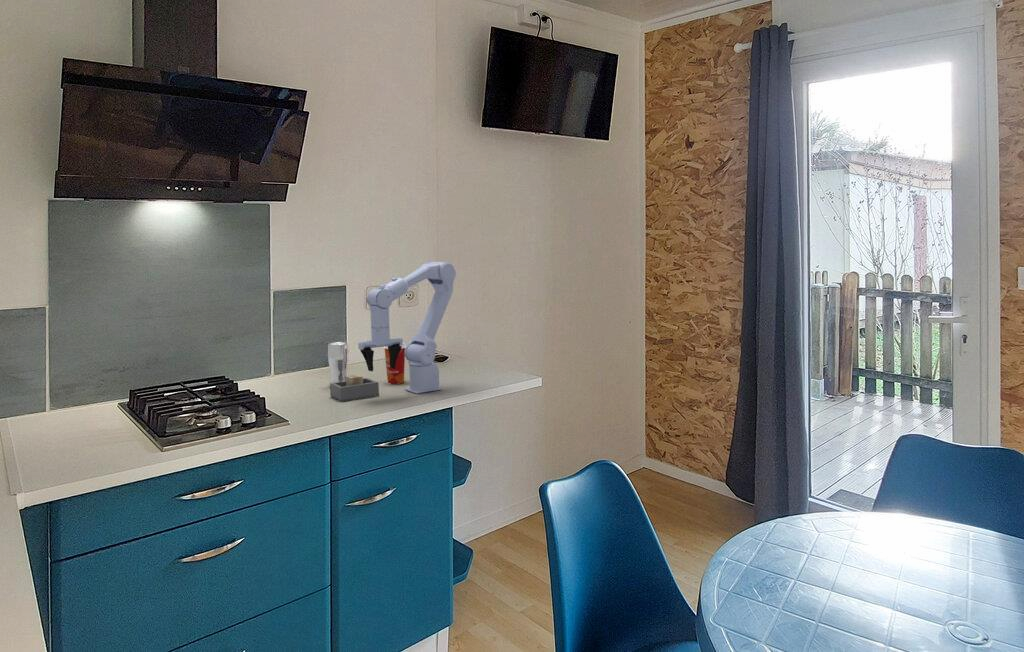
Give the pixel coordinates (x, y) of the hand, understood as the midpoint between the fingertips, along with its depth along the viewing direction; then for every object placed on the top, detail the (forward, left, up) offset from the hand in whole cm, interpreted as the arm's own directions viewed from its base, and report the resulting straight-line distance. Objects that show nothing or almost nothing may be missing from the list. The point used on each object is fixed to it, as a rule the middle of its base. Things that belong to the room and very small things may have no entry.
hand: (381, 369), depth 218 cm
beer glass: (+4, -25, -10) cm, 27 cm away
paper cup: (-14, -18, -10) cm, 25 cm away
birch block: (+6, -8, -9) cm, 13 cm away
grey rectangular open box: (+6, -8, -9) cm, 14 cm away
